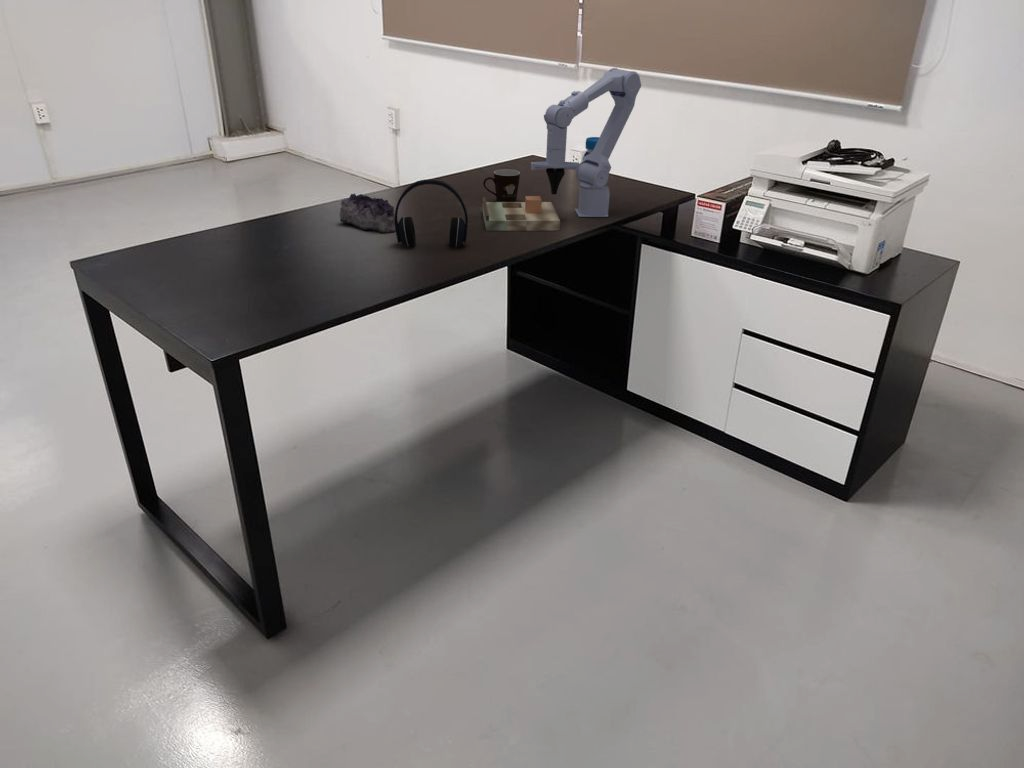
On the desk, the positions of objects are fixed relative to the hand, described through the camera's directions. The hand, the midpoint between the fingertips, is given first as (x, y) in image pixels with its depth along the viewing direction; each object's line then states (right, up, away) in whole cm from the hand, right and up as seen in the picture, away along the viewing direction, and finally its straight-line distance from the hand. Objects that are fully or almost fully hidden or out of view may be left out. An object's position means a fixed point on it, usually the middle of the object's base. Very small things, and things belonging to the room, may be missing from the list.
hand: (553, 193), depth 235 cm
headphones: (-35, -19, -19) cm, 45 cm away
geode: (-55, -11, -4) cm, 56 cm away
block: (-6, -5, +2) cm, 8 cm away
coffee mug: (-16, +2, +20) cm, 26 cm away
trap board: (-10, -8, +3) cm, 13 cm away
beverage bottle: (+14, +4, +27) cm, 31 cm away
